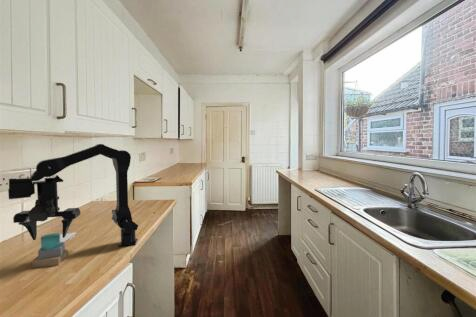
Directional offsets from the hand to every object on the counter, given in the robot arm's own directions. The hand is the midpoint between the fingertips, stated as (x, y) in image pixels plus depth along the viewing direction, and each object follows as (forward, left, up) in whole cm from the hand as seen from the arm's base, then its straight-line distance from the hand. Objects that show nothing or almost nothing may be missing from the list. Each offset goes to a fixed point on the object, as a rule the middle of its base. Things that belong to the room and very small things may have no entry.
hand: (49, 238), depth 91 cm
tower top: (-1, 0, -6) cm, 6 cm away
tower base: (-1, 0, -9) cm, 9 cm away
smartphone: (-24, -6, -9) cm, 27 cm away
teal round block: (0, 0, -3) cm, 3 cm away
